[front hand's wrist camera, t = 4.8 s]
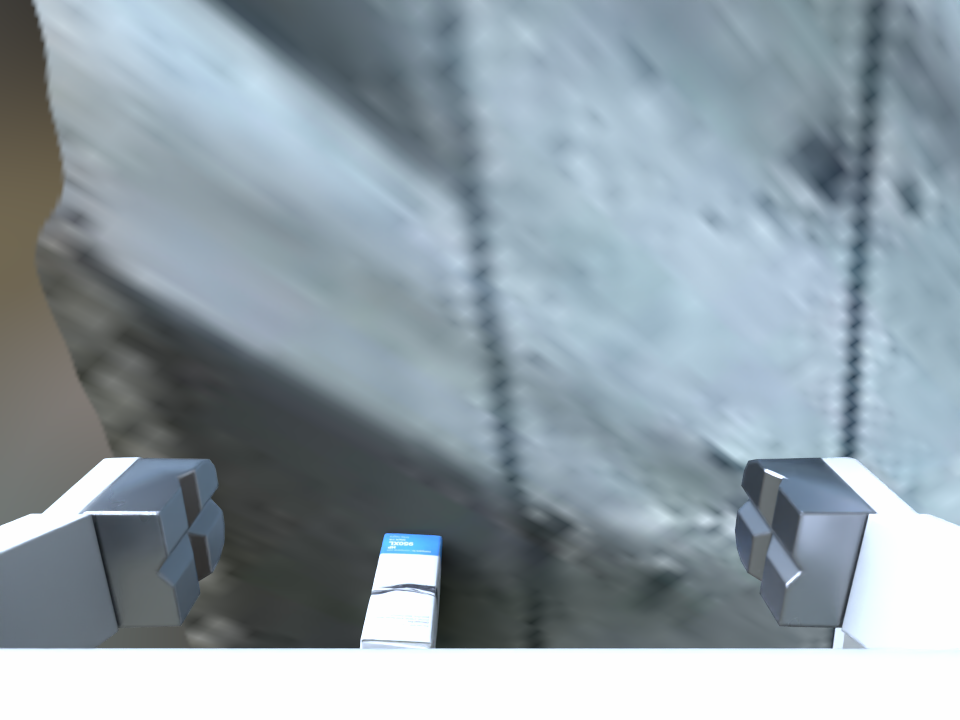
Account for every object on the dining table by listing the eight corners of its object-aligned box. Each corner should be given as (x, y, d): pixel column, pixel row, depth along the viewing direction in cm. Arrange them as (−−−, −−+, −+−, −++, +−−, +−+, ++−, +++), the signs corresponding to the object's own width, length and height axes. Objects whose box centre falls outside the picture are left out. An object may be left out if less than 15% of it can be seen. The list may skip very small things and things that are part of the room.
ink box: (382, 530, 53) (357, 639, 42) (444, 534, 53) (435, 643, 42) (380, 615, 56) (355, 737, 45) (438, 619, 56) (428, 741, 45)
